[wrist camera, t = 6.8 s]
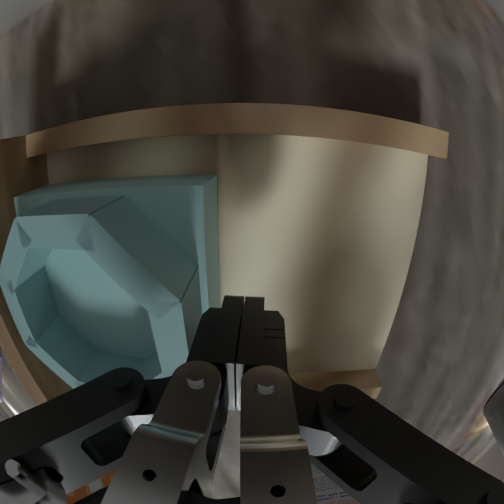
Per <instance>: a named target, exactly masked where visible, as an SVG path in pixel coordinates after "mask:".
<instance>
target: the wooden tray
mask: <svg viewBox="0 0 504 504" xmlns="http://www.w3.org/2000/svg"><path fill="white" fill-rule="evenodd" d="M448 135H449V132H445V131H442V130H438V129H435V128H431V127H428V126H424V125H420V124H416V123H412V122H407V121H403V120H398V119H394V118H389V117H384V116H379V115H373V114H368V113H362V112H355V111H349V110H341V109H334V108H325V107H315V106H304V105H291V104H272V103H210V104H191V105H178V106H167V107H157V108H149V109H141V110H134V111H127V112H121V113H115V114H109V115H104V116H99V117H94V118H89V119H85V120H80V121H76V122H72V123H68V124H64V125H60V126H56V127H52V128H49V129H45V130H42V131H39V132H35V133H32V134H29V135H26V136H19V137H13V138H7V139H1V140H0V265H1V261H2V257H3V253H4V250H5V246H6V243H7V239H8V236H9V233H10V230H11V227H12V224H13V221H14V218H15V217H16V216H17V215H16V209H15V203H14V197H16V196H19V195H21V194H24V193H26V192H29V191H32V190H34V189H37V188H40V187H43V186H45V185H50V184H58V183H67V182H76V181H86V180H97V179H109V178H123V177H140V176H162V175H217V212H218V259H219V289H220V308H221V307H222V303H223V299H224V296H225V295H231V296H244V302H245V296H252V297H265V300H264V310H270V311H279V313H280V314H281V315H282V317H283V318H284V321H285V335H286V351H287V367H288V373H289V375H290V377H291V378H292V379H293V380H294V381H295V382H296V383H297V384H299V385H300V386H303V387H305V388H308V389H312V390H316V391H320V392H322V391H323V390H324V389H326V388H327V387H329V386H331V385H335V384H348V385H352V386H354V387H357V388H358V389H360V390H361V391H363V392H364V393H365V394H367V395H368V396H370V397H371V398H372V399H376V398H377V396H378V394H379V392H380V390H381V388H382V386H381V383H380V380H379V378H378V375H377V372H376V370H375V368H376V366H377V363H378V361H379V358H380V356H381V353H382V351H383V348H384V346H385V343H386V340H387V337H388V335H389V332H390V329H391V326H392V323H393V320H394V317H395V314H396V311H397V308H398V305H399V301H400V298H401V295H402V291H403V288H404V284H405V281H406V277H407V273H408V269H409V265H410V261H411V257H412V253H413V248H414V244H415V239H416V234H417V229H418V224H419V219H420V213H421V207H422V201H423V194H424V187H425V180H426V171H427V161H428V155H432V156H437V157H441V158H446V159H447V150H448ZM0 347H1V349H2V350H3V352H4V354H5V356H6V358H7V360H8V361H9V363H10V365H11V367H12V368H13V370H14V372H15V373H16V375H17V377H18V378H19V380H20V381H21V383H22V385H23V386H24V388H25V389H26V391H27V392H28V394H29V395H30V397H31V398H32V399H33V401H34V402H35V404H36V405H37V406H38V405H40V404H42V403H45V402H47V401H49V400H51V399H53V398H55V397H57V396H60V395H62V394H64V393H66V392H68V391H70V390H72V389H73V388H72V387H71V386H69V385H68V384H67V383H66V382H65V381H63V380H62V379H61V378H60V377H59V376H58V375H56V374H55V373H54V372H53V371H52V370H51V369H50V368H49V367H48V366H46V365H45V364H44V363H43V362H42V361H41V360H40V359H39V358H38V357H37V356H36V355H35V354H34V353H33V352H32V351H31V350H30V349H29V348H28V347H27V346H26V345H25V344H24V342H23V340H22V338H21V335H20V333H19V331H18V329H17V327H16V324H15V322H14V320H13V317H12V315H11V313H10V310H9V308H8V305H7V302H6V300H5V297H4V294H3V292H2V289H1V286H0ZM236 402H237V399H236Z"/></svg>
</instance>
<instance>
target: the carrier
mask: <svg viewBox="0 0 504 504" xmlns="http://www.w3.org/2000/svg"><path fill="white" fill-rule="evenodd" d="M14 203H15V209H16V215H17V216H16V217H15V218H14V221H13V224H12V227H11V230H10V233H9V236H8V239H7V243H6V246H5V250H4V253H3V257H2V261H1V265H0V286H1V289H2V292H3V294H4V297H5V300H6V302H7V305H8V308H9V310H10V313H11V315H12V317H13V320H14V322H15V324H16V327H17V329H18V331H19V333H20V335H21V338H22V340H23V342H24V344H25V345H26V346H27V347H28V348H29V349H30V350H31V351H32V352H33V353H34V354H35V355H36V356H37V357H38V358H39V359H40V360H41V361H42V362H43V363H44V364H45V365H46V366H48V367H49V368H50V369H51V370H52V371H53V372H54V373H55V374H56V375H58V376H59V377H60V378H61V379H62V380H63V381H65V382H66V383H67V384H68V385H69V386H71V387H72V388H73V389H74V388H76V387H78V386H81V385H83V384H85V383H87V382H89V381H91V380H93V379H95V378H97V377H99V376H101V375H103V374H105V373H107V372H109V371H111V370H113V369H116V368H121V367H128V368H133V369H135V370H137V371H139V372H140V373H141V374H142V376H143V377H144V380H147V379H158V378H165V377H169V376H172V374H173V372H174V371H175V369H176V368H177V367H179V366H180V365H182V364H184V363H186V361H187V357H188V354H189V351H190V348H191V345H192V342H193V339H194V336H195V334H196V331H197V328H198V326H199V322H200V319H201V316H202V314H203V313H204V312H206V311H207V310H208V309H209V308H210V307H213V308H220V289H219V259H218V212H217V175H162V176H140V177H123V178H109V179H97V180H86V181H76V182H67V183H58V184H50V185H45V186H43V187H40V188H37V189H34V190H32V191H29V192H26V193H24V194H21V195H19V196H16V197H14Z"/></svg>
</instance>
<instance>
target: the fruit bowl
mask: <svg viewBox="0 0 504 504" xmlns="http://www.w3.org/2000/svg"><path fill="white" fill-rule="evenodd" d="M0 403H2V356H1V354H0Z"/></svg>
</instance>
